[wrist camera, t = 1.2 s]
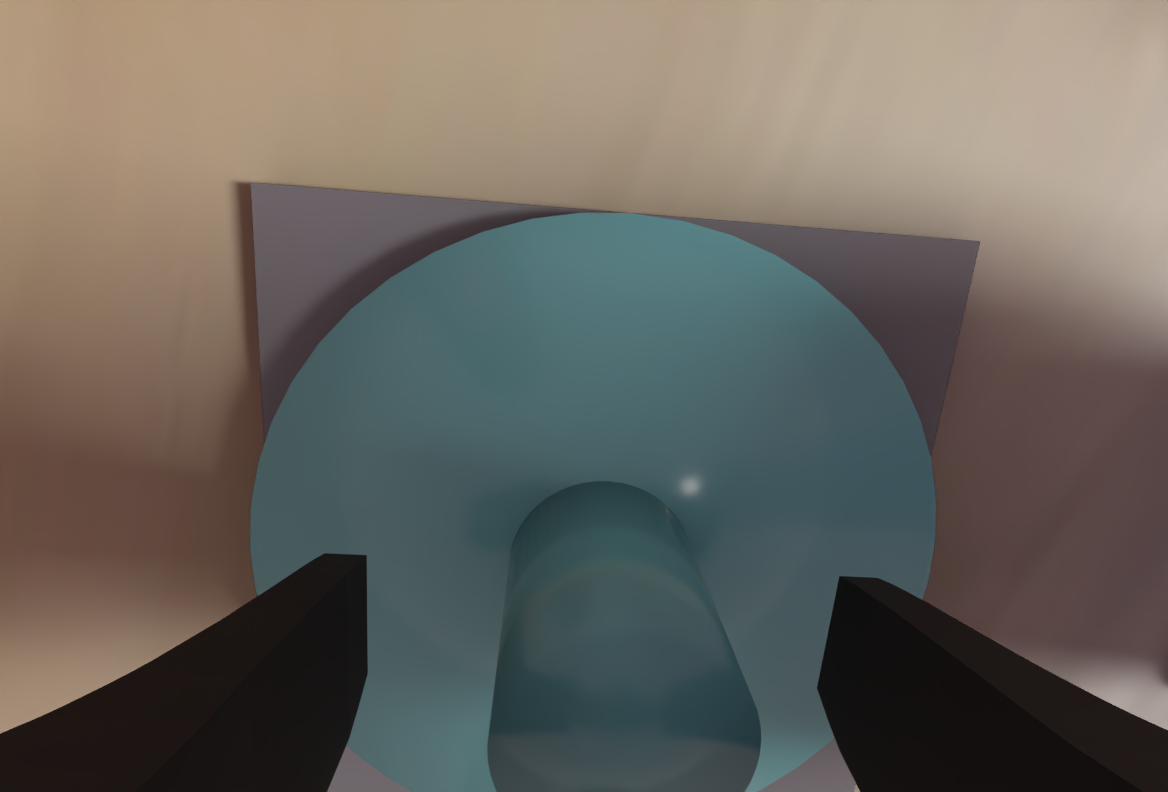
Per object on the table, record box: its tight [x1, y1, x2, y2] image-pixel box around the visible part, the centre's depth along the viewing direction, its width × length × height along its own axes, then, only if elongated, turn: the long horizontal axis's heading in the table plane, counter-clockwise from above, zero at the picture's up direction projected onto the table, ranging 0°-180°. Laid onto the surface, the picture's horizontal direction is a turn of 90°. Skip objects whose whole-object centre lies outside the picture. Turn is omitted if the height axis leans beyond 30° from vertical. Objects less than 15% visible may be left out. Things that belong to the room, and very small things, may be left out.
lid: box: [250, 212, 936, 792], centre depth 10 cm, size 12×12×5 cm
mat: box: [251, 183, 980, 792], centre depth 13 cm, size 12×12×1 cm
